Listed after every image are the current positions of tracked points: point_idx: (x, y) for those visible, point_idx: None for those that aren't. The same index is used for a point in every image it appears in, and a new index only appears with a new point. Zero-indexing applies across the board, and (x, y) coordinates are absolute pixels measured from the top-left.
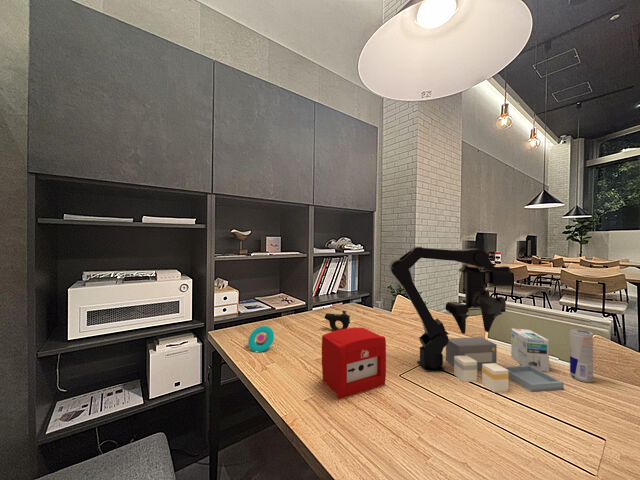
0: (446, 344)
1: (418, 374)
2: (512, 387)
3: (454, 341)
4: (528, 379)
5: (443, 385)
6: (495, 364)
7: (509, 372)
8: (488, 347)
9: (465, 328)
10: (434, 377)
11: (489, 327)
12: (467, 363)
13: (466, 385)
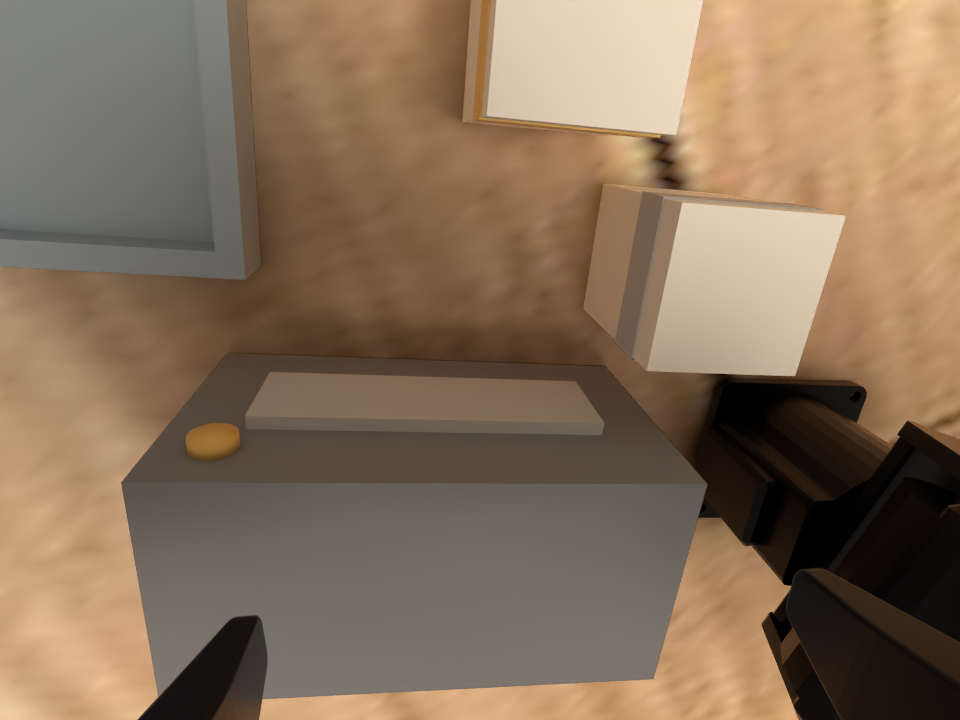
0: (912, 490)
1: (940, 358)
2: (371, 6)
3: (629, 607)
4: (85, 61)
5: (914, 180)
6: (524, 81)
7: (240, 165)
8: (272, 462)
9: (910, 644)
10: (873, 300)
11: (187, 705)
12: (791, 210)
13: (748, 140)
